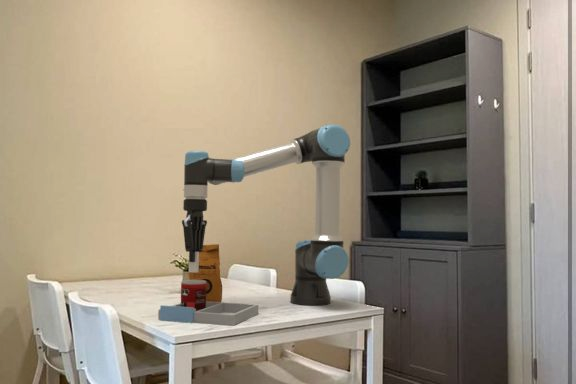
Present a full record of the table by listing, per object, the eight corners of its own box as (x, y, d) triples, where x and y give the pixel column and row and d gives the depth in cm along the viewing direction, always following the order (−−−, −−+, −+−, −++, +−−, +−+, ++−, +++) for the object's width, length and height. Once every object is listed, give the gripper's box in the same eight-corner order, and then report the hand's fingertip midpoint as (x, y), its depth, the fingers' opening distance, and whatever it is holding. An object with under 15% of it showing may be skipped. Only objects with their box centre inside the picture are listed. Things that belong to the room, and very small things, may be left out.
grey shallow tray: (258, 314, 170) (258, 300, 171) (232, 326, 151) (232, 310, 151) (189, 309, 178) (190, 296, 178) (157, 320, 158) (157, 305, 159)
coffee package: (221, 308, 181) (222, 244, 182) (185, 308, 180) (186, 244, 181) (222, 303, 191) (223, 243, 192) (188, 303, 190) (189, 243, 191)
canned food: (181, 313, 170) (182, 279, 171) (206, 313, 171) (207, 279, 171) (178, 317, 162) (179, 282, 163) (204, 317, 163) (205, 282, 164)
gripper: (194, 199, 176) (192, 269, 175) (174, 197, 163) (172, 273, 162) (214, 199, 174) (213, 270, 172) (196, 197, 161) (194, 274, 160)
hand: (193, 272), depth 167 cm, fingers closed
